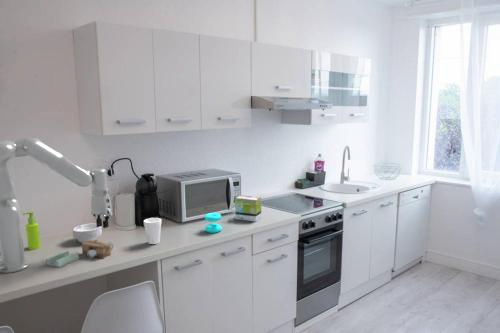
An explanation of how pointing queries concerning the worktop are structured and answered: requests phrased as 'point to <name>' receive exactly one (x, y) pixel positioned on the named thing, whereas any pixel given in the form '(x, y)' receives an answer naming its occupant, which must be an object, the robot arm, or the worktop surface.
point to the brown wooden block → (97, 248)
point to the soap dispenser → (32, 232)
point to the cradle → (62, 259)
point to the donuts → (213, 218)
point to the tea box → (248, 208)
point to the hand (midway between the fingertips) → (102, 226)
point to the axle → (93, 252)
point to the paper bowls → (87, 232)
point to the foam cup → (153, 230)
